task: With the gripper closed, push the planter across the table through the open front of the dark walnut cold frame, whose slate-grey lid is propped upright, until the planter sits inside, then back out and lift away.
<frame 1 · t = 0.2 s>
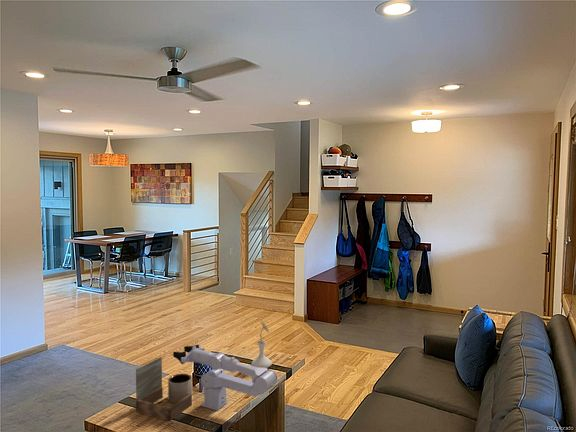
hand: (179, 351, 200), 21 cm above the table, tool horizontal, fingers open, 7 cm apart
cold frame: (165, 407, 189), on the table
planter: (180, 398, 198), on the table
flower in vase: (261, 366, 236), on the table
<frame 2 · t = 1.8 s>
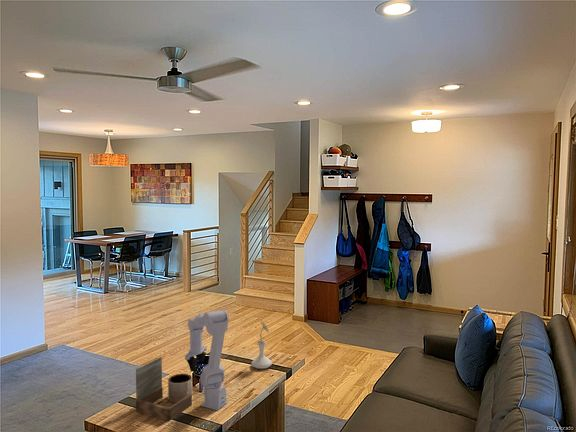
hand: (196, 369, 208), 9 cm above the table, tool pointing down, fingers open, 5 cm apart
nothing on the table moved.
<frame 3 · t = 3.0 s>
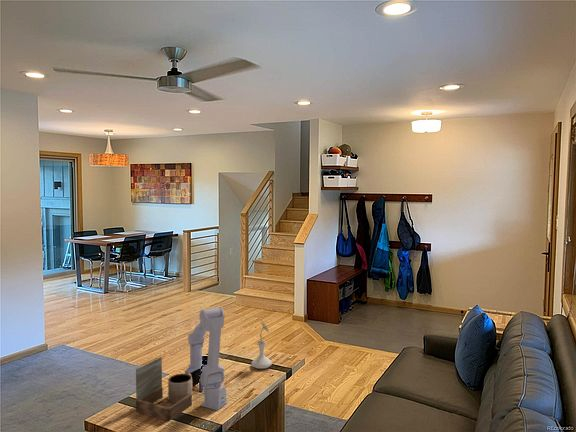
hand: (196, 383, 209), 2 cm above the table, tool pointing down, fingers closed
nothing on the table moved.
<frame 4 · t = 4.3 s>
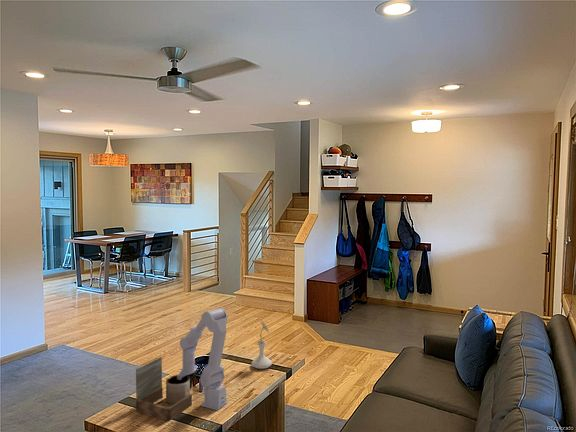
hand: (188, 388, 203), 2 cm above the table, tool pointing down, fingers closed
planter: (178, 399, 196), on the table, touching gripper
everything else where it was.
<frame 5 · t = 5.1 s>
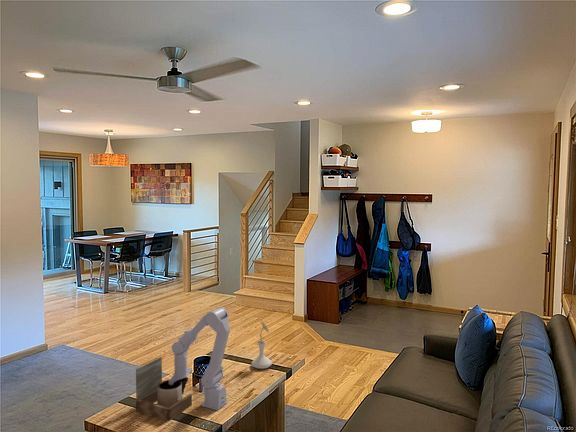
hand: (180, 393, 198), 2 cm above the table, tool pointing down, fingers closed
planter: (169, 405, 191), on the table, touching gripper
everything else where it was.
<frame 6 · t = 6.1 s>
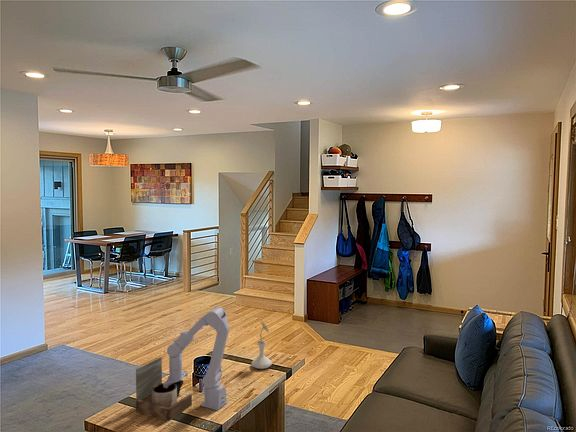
hand: (175, 396, 195), 2 cm above the table, tool pointing down, fingers closed
planter: (164, 409, 188), on the table, touching gripper
everything else where it was.
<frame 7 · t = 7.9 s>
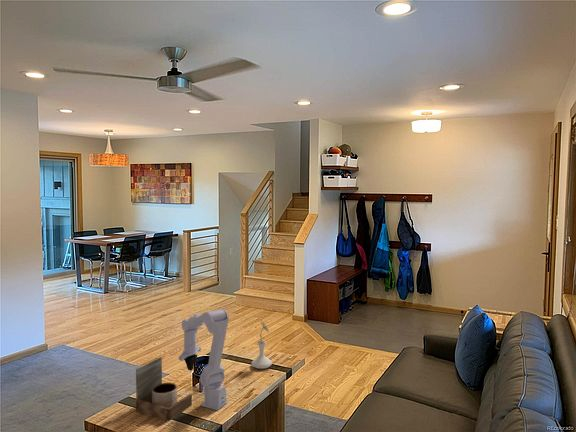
hand: (190, 369, 207), 9 cm above the table, tool pointing down, fingers closed
planter: (164, 409, 188), on the table
everything else where it was.
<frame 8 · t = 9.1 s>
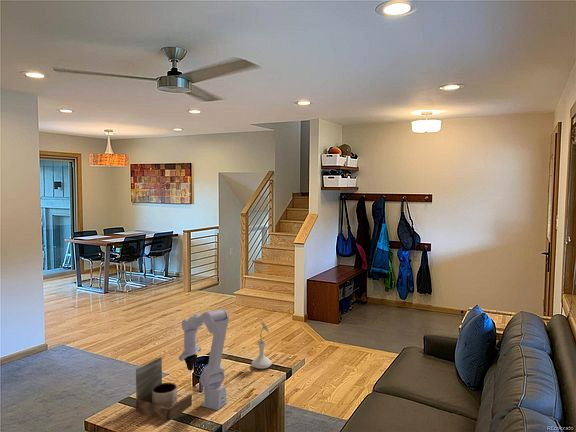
hand: (190, 369, 207), 9 cm above the table, tool pointing down, fingers closed
nothing on the table moved.
at the end: planter inside the target area (0.4 cm from its centre), on the table; planter tilted 0° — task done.
